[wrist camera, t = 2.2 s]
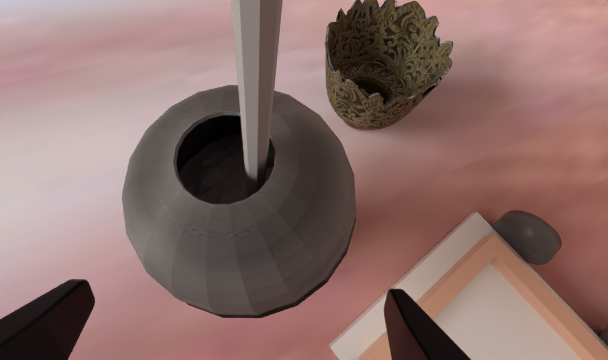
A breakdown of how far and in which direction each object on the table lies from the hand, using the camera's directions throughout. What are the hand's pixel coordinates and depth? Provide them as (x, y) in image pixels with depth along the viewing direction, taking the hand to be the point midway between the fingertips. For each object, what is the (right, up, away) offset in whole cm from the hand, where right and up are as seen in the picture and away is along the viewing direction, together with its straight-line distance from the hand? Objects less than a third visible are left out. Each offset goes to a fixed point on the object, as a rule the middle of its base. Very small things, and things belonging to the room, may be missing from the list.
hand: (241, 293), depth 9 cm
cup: (+7, +9, +16) cm, 19 cm away
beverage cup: (0, -1, +12) cm, 12 cm away
